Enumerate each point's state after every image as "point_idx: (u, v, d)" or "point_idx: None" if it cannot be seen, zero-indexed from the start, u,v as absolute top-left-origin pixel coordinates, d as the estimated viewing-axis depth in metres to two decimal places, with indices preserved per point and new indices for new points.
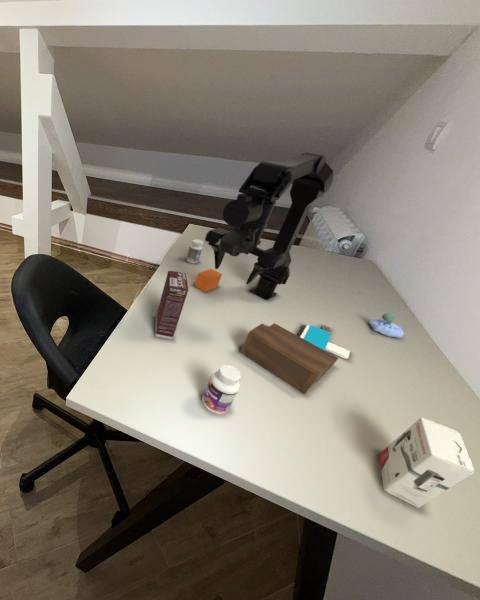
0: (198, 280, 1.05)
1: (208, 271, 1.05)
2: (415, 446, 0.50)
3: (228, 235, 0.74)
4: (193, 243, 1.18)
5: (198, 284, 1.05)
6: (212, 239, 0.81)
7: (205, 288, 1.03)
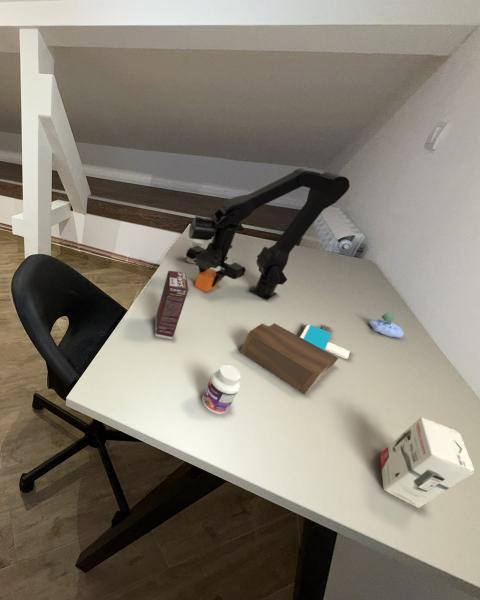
0: (198, 280, 1.05)
1: (208, 271, 1.05)
2: (416, 446, 0.50)
3: (202, 253, 0.98)
4: (193, 243, 1.18)
5: (198, 284, 1.05)
6: (191, 255, 1.05)
7: (205, 288, 1.03)
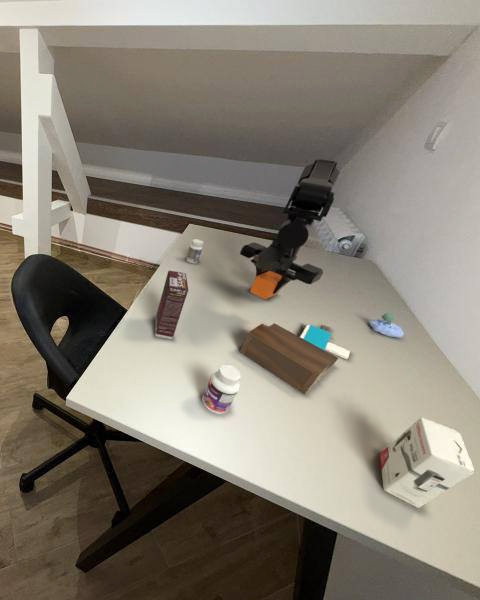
0: (256, 285, 0.84)
1: (268, 274, 0.84)
2: (416, 446, 0.50)
3: (266, 251, 0.77)
4: (193, 243, 1.18)
5: (255, 289, 0.84)
6: (248, 253, 0.84)
7: (265, 295, 0.82)
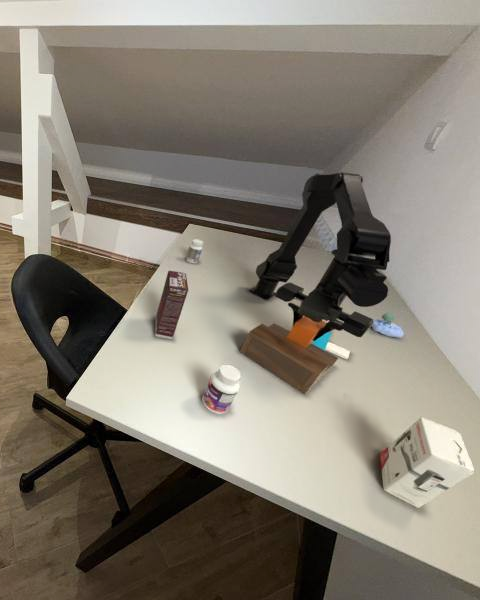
0: (294, 331, 0.76)
1: (307, 318, 0.76)
2: (416, 446, 0.50)
3: (309, 298, 0.69)
4: (193, 243, 1.18)
5: (293, 336, 0.76)
6: (285, 297, 0.76)
7: (305, 343, 0.75)
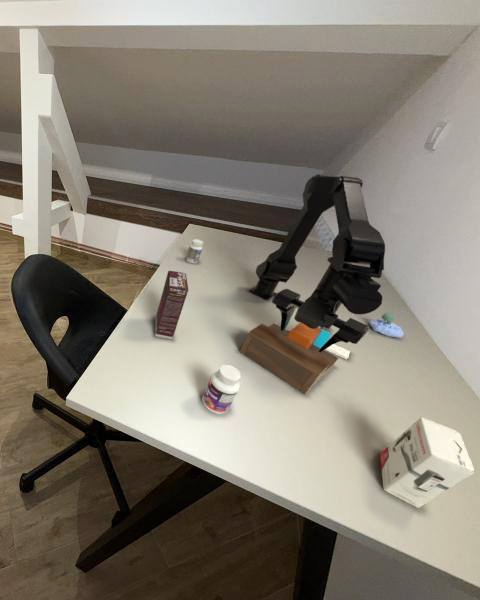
0: (290, 338, 0.77)
1: (302, 326, 0.78)
2: (416, 446, 0.50)
3: (305, 305, 0.70)
4: (193, 243, 1.18)
5: None
6: (282, 303, 0.77)
7: None
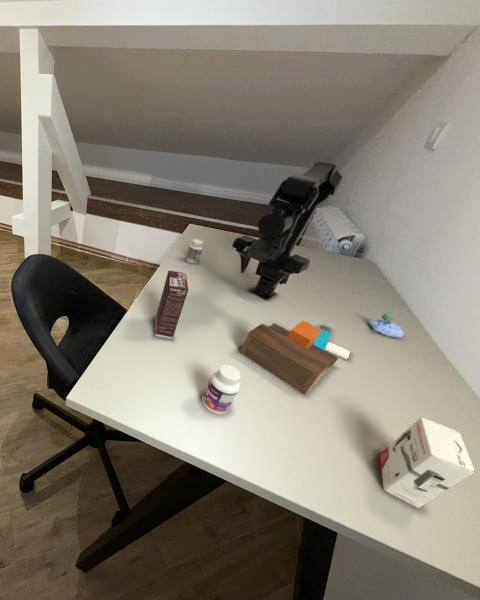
0: (290, 338, 0.77)
1: (302, 326, 0.78)
2: (416, 446, 0.50)
3: (256, 243, 0.81)
4: (193, 243, 1.18)
5: None
6: (240, 246, 0.88)
7: None
